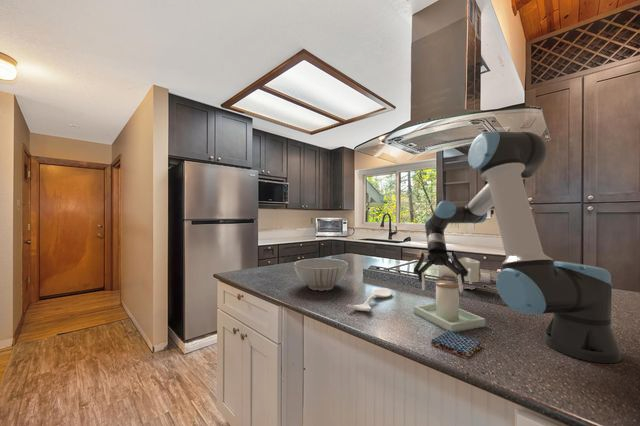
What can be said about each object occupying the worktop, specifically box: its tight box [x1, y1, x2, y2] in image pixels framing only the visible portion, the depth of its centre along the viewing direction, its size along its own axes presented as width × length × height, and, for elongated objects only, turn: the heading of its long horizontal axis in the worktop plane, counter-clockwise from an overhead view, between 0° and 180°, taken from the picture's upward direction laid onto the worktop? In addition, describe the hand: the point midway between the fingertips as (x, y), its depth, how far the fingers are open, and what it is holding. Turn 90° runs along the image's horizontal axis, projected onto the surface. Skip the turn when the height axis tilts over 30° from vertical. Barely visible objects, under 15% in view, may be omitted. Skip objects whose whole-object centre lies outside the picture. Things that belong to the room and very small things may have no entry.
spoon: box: [346, 287, 393, 312], centre depth 116 cm, size 9×32×4 cm, turn 148°
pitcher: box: [454, 256, 482, 284], centre depth 135 cm, size 11×18×14 cm, turn 160°
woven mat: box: [430, 330, 483, 359], centre depth 79 cm, size 10×11×2 cm
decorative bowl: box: [293, 258, 349, 292], centre depth 139 cm, size 27×27×12 cm
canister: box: [435, 280, 460, 322], centre depth 98 cm, size 7×7×12 cm
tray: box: [413, 302, 486, 333], centre depth 98 cm, size 18×14×2 cm
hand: (442, 289), depth 108 cm, fingers open, 13 cm apart
